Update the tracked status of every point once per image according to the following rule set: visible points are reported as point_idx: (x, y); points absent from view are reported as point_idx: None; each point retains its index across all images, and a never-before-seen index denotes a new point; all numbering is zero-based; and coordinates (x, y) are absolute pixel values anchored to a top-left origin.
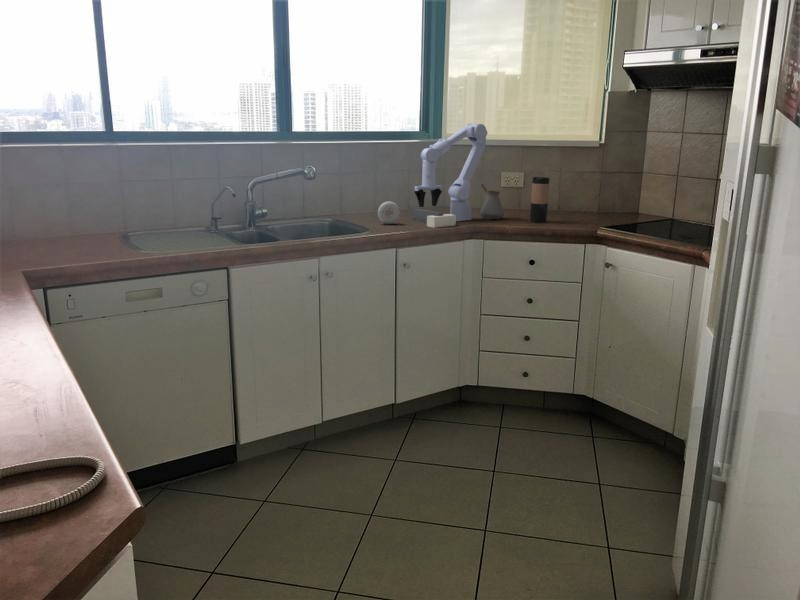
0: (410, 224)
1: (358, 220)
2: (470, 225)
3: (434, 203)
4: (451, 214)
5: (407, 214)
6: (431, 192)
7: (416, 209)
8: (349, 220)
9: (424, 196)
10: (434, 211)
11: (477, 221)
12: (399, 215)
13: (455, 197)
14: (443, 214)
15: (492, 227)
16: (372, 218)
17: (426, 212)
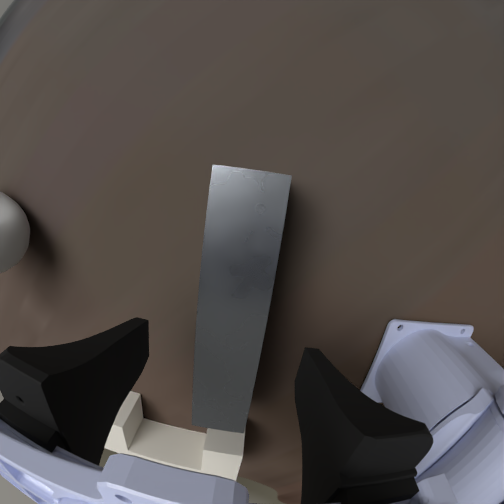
0: (81, 297)
1: (26, 43)
2: (286, 467)
3: (299, 390)
4: (236, 468)
5: (393, 5)
6: (345, 435)
7: (236, 186)
8: (15, 34)
9: (103, 436)
10: (249, 378)
11: None
12: (16, 262)
13: (435, 466)
14: (203, 449)
15: (297, 500)
16: (103, 4)
17: (196, 339)
